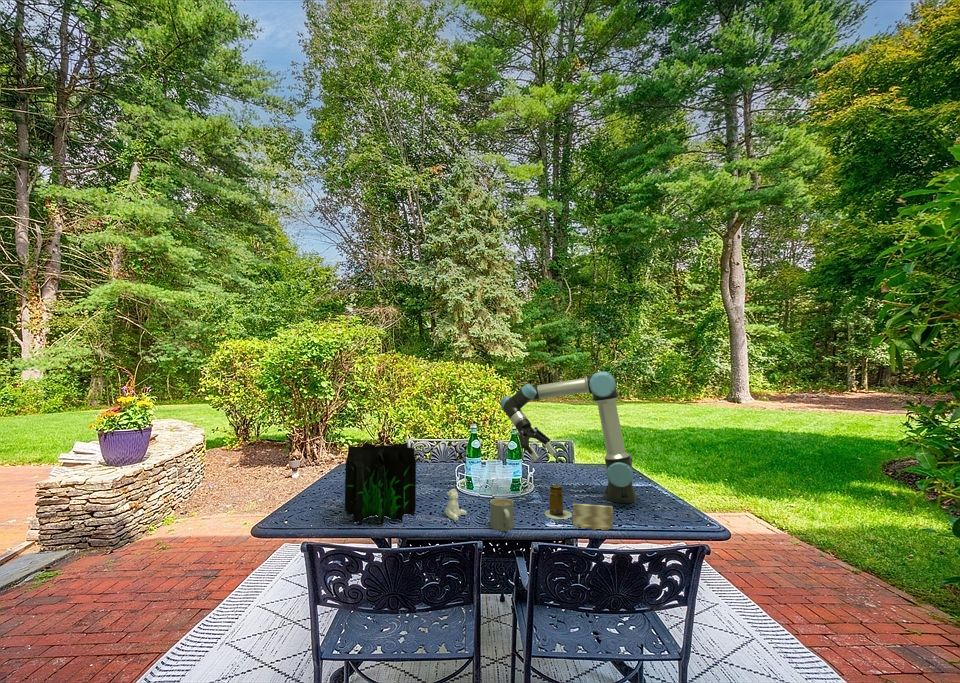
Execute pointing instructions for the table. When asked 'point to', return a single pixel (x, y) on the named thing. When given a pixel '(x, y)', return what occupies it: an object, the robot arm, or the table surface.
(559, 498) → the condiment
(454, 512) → the white creature statuette
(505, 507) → the coffee mug
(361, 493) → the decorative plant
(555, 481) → the table surface
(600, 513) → the birch screen
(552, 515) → the pad
